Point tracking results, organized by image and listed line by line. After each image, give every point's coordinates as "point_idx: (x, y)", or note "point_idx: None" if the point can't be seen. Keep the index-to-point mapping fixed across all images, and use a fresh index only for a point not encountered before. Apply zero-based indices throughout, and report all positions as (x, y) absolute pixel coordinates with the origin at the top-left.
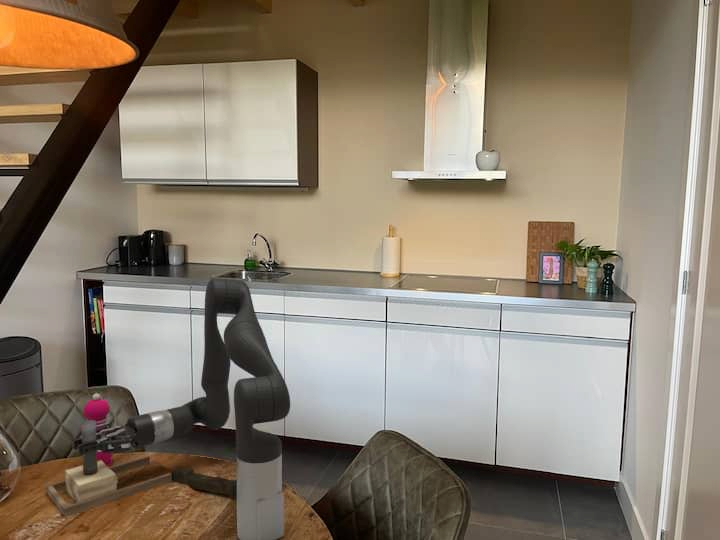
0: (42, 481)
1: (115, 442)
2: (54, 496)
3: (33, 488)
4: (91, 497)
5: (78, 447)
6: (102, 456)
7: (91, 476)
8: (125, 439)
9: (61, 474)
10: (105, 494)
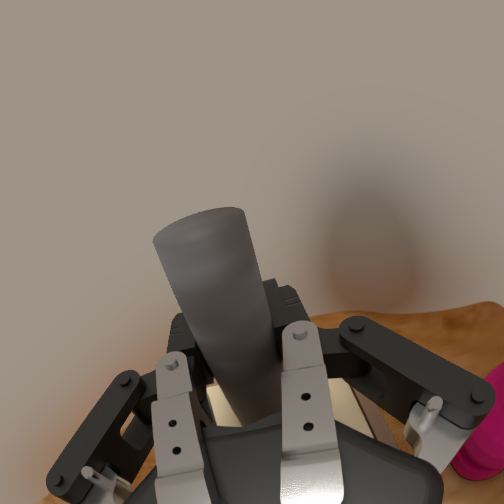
0: (431, 339)
1: (84, 424)
2: None
3: (400, 333)
4: None
5: None
6: (470, 444)
7: (232, 425)
8: (66, 474)
9: (463, 364)
10: None
